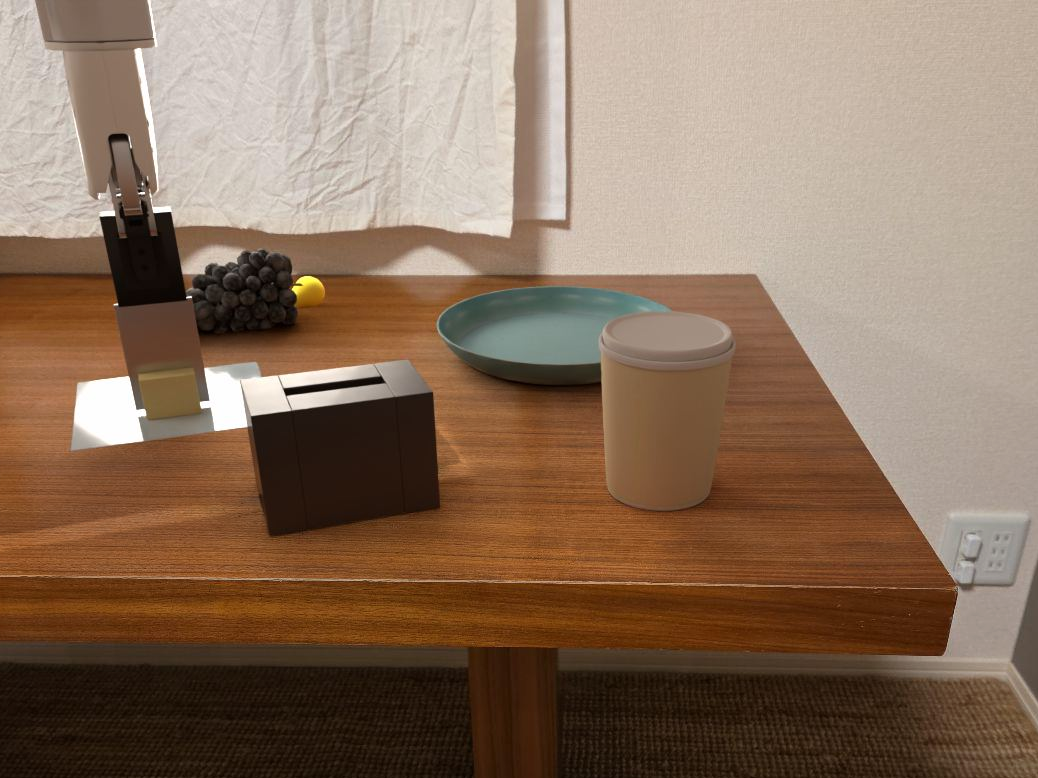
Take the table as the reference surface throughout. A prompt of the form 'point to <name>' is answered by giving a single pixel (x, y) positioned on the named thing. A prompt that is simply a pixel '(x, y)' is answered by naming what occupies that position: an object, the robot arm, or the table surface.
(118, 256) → the knife
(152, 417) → the tan square block
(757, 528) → the table surface
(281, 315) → the fruit
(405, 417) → the stand
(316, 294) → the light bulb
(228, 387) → the butter dish
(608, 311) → the teal plate
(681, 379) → the coffee cup
